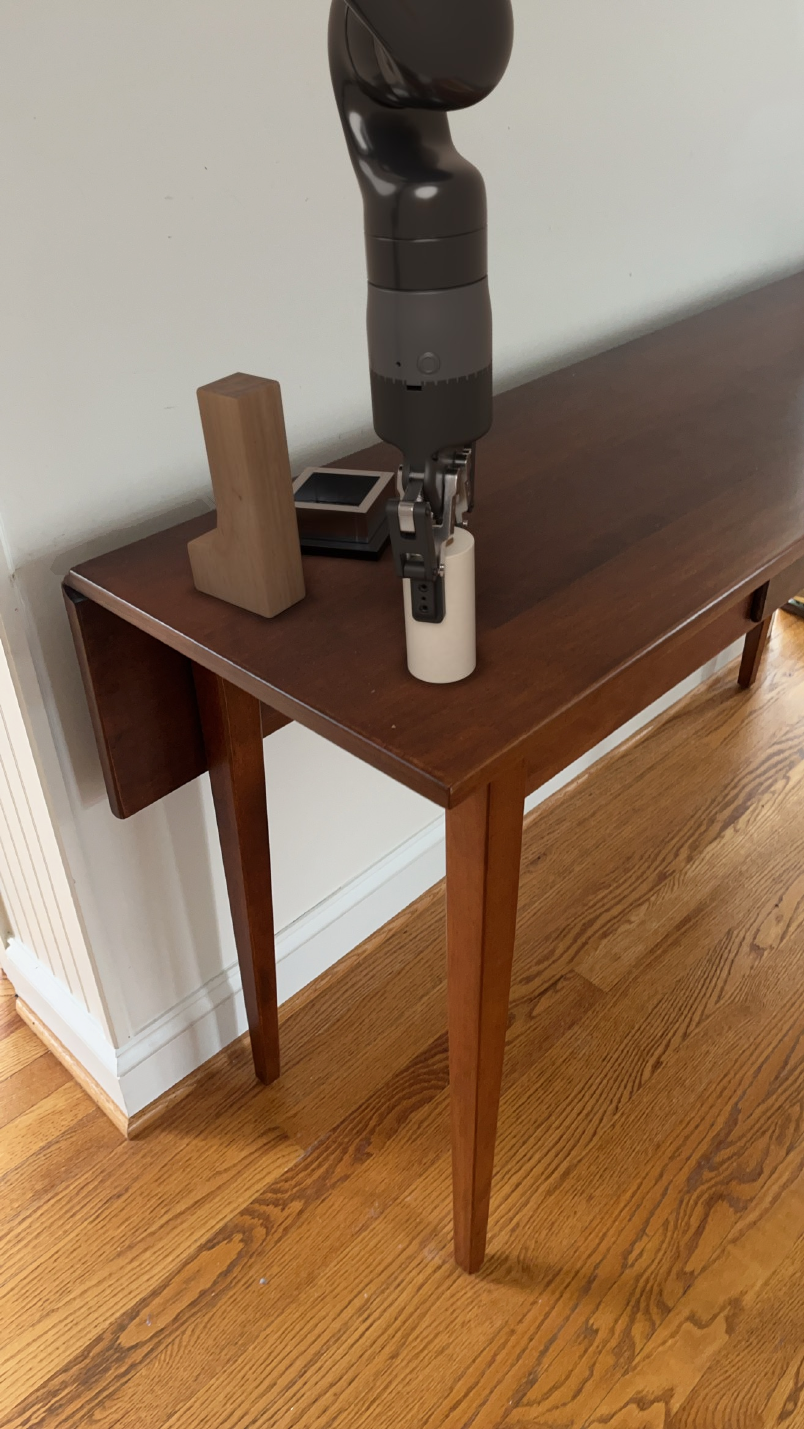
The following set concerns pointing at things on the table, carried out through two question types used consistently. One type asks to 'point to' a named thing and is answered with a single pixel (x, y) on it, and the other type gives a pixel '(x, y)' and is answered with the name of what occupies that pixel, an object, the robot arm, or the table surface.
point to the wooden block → (248, 499)
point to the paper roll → (446, 620)
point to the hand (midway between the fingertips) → (439, 598)
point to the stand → (343, 512)
